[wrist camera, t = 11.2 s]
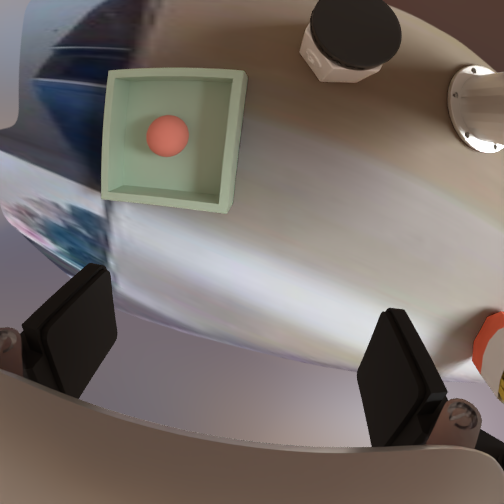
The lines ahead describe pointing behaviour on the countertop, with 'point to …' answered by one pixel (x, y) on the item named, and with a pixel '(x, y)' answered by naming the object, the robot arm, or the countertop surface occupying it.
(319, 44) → the jar
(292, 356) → the countertop surface
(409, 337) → the robot arm
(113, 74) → the green bin
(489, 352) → the french fries container
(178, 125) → the tomato ball
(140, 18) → the countertop surface
